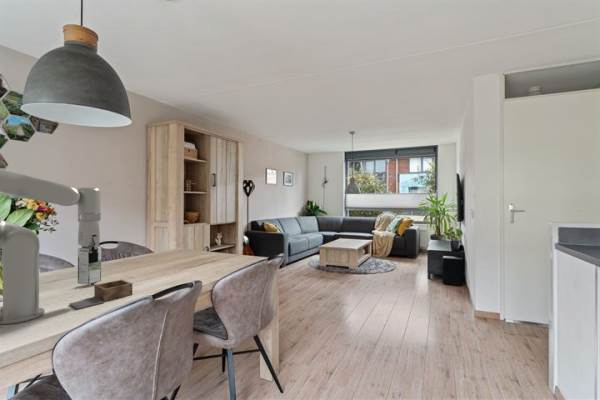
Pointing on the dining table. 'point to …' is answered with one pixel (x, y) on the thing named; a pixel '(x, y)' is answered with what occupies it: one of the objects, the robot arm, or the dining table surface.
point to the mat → (86, 303)
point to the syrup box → (88, 267)
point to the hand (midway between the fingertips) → (89, 261)
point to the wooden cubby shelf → (112, 290)
